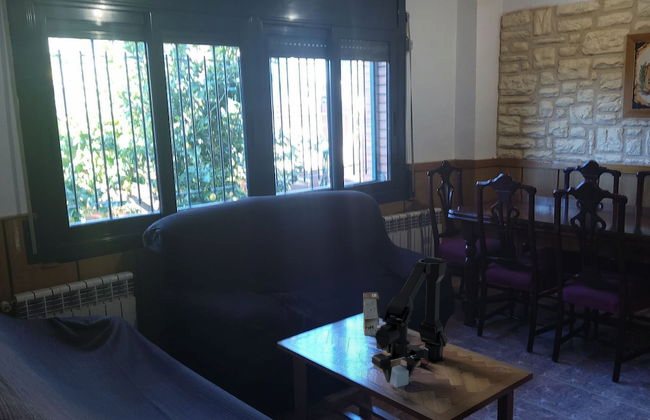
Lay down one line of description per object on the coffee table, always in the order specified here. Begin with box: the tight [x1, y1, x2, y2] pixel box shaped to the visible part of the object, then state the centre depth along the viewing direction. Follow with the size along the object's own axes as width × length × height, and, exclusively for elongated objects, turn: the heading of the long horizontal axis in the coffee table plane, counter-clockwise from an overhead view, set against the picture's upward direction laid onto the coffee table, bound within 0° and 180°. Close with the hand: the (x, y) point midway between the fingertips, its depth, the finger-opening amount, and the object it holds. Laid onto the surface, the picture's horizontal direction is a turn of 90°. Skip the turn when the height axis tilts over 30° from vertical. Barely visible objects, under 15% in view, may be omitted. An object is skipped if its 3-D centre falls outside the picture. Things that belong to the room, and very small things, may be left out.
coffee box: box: [362, 291, 380, 336], centre depth 233 cm, size 9×6×16 cm
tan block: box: [373, 350, 402, 374], centre depth 200 cm, size 7×7×5 cm
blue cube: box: [389, 364, 410, 388], centre depth 189 cm, size 5×5×5 cm
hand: (398, 379), depth 189 cm, fingers open, 8 cm apart
